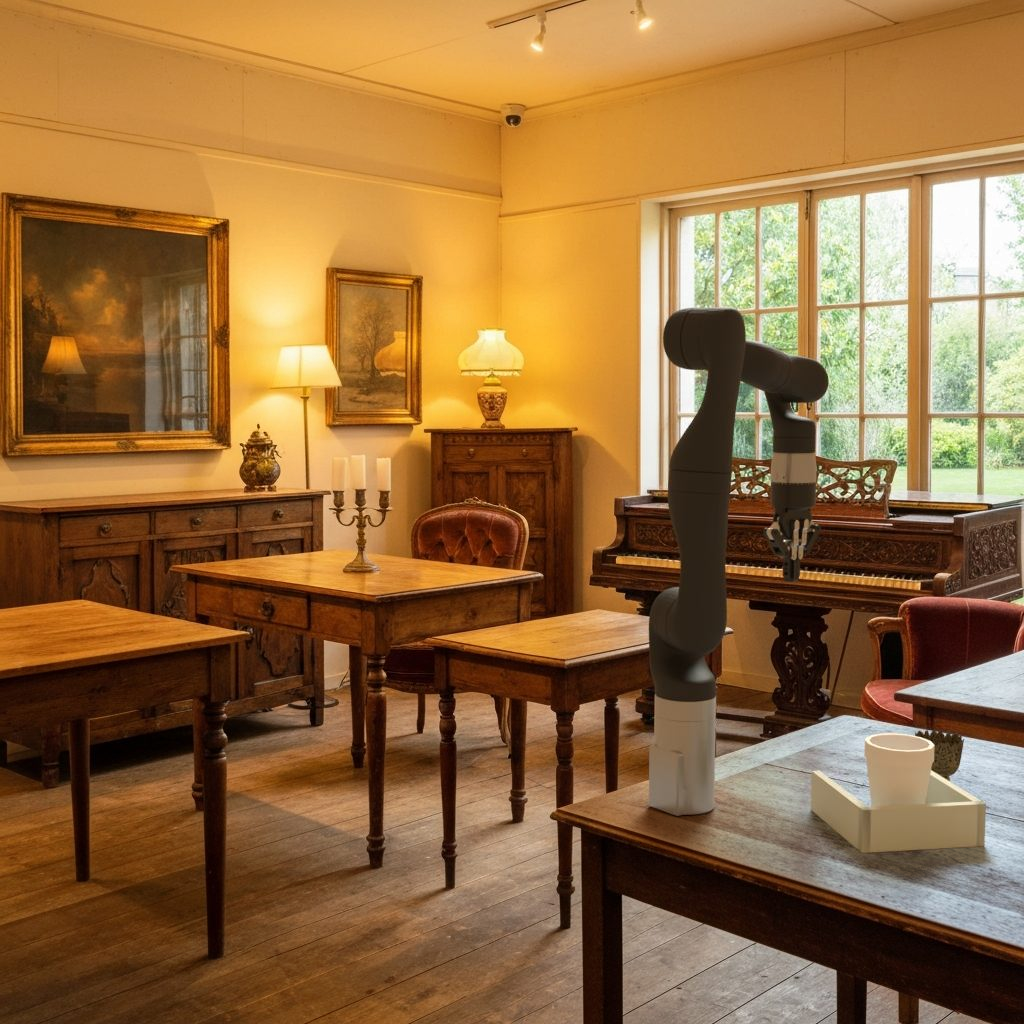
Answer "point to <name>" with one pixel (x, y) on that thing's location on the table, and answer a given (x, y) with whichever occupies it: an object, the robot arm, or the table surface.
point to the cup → (944, 752)
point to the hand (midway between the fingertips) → (791, 581)
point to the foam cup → (898, 768)
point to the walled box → (902, 818)
